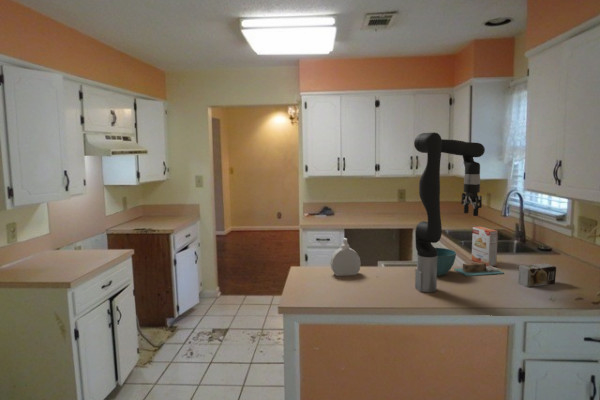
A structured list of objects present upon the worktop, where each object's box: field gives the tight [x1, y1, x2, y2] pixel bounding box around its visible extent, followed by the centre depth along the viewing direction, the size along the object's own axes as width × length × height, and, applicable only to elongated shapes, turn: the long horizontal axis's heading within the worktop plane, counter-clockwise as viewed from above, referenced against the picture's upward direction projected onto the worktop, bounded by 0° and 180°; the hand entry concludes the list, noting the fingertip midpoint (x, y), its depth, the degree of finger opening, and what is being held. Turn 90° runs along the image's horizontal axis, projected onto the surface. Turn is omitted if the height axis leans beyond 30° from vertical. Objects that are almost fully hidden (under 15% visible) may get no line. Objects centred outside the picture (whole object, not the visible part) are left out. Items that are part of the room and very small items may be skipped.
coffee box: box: [517, 263, 557, 288], centre depth 197 cm, size 9×6×16 cm
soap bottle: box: [329, 237, 362, 277], centre depth 217 cm, size 16×5×20 cm, turn 97°
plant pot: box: [435, 247, 457, 277], centre depth 216 cm, size 18×18×12 cm
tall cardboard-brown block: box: [462, 262, 500, 272], centre depth 217 cm, size 18×7×4 cm, turn 98°
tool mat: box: [453, 267, 504, 277], centre depth 218 cm, size 22×12×1 cm, turn 98°
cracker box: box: [471, 225, 499, 267], centre depth 232 cm, size 14×6×21 cm, turn 17°
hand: (470, 214), depth 202 cm, fingers open, 8 cm apart
